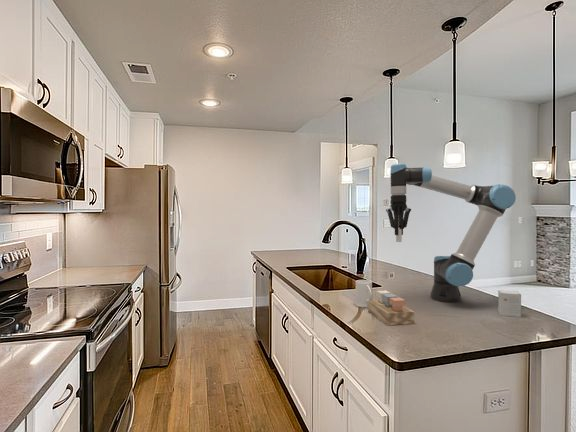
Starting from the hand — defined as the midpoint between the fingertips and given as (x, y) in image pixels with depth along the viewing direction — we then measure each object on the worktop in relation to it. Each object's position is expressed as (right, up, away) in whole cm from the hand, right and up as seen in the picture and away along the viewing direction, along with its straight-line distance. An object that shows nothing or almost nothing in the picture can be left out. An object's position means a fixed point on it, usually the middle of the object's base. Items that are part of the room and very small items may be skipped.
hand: (398, 241), depth 177 cm
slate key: (-10, -30, -20) cm, 37 cm away
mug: (-17, -32, -2) cm, 37 cm away
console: (-10, -32, -20) cm, 39 cm away
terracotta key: (-9, -30, -26) cm, 41 cm away
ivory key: (-11, -29, -13) cm, 34 cm away
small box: (+45, -32, -17) cm, 58 cm away
